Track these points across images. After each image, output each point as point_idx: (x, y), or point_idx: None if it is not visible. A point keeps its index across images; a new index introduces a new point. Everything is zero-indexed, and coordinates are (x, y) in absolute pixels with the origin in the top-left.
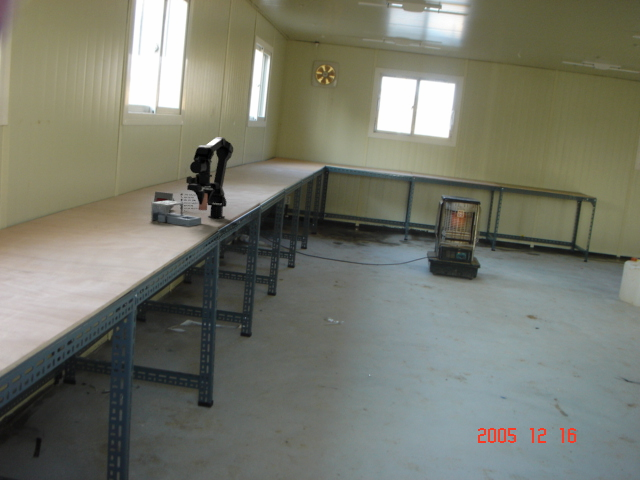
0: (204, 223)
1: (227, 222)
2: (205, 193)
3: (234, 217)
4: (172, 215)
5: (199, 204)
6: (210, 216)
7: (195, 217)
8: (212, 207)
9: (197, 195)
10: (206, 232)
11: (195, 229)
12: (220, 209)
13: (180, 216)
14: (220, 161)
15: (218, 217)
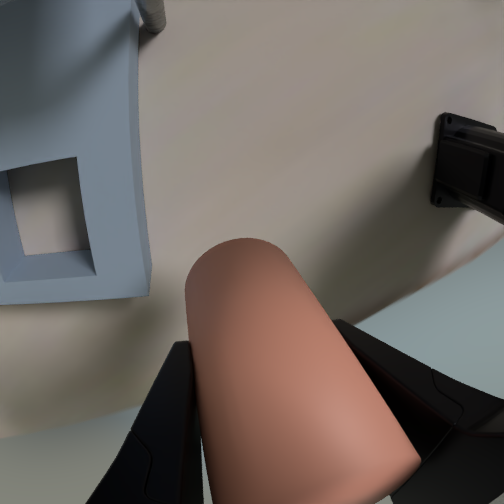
0: (190, 269)
1: (351, 324)
2: (367, 499)
3: (496, 235)
4: (5, 34)
5: (193, 325)
6: (440, 141)
7: (105, 257)
8: (499, 172)
9: (115, 489)
10: (24, 419)
11: (3, 361)
12: (498, 221)
13: (17, 123)
14: None
15: (442, 202)
